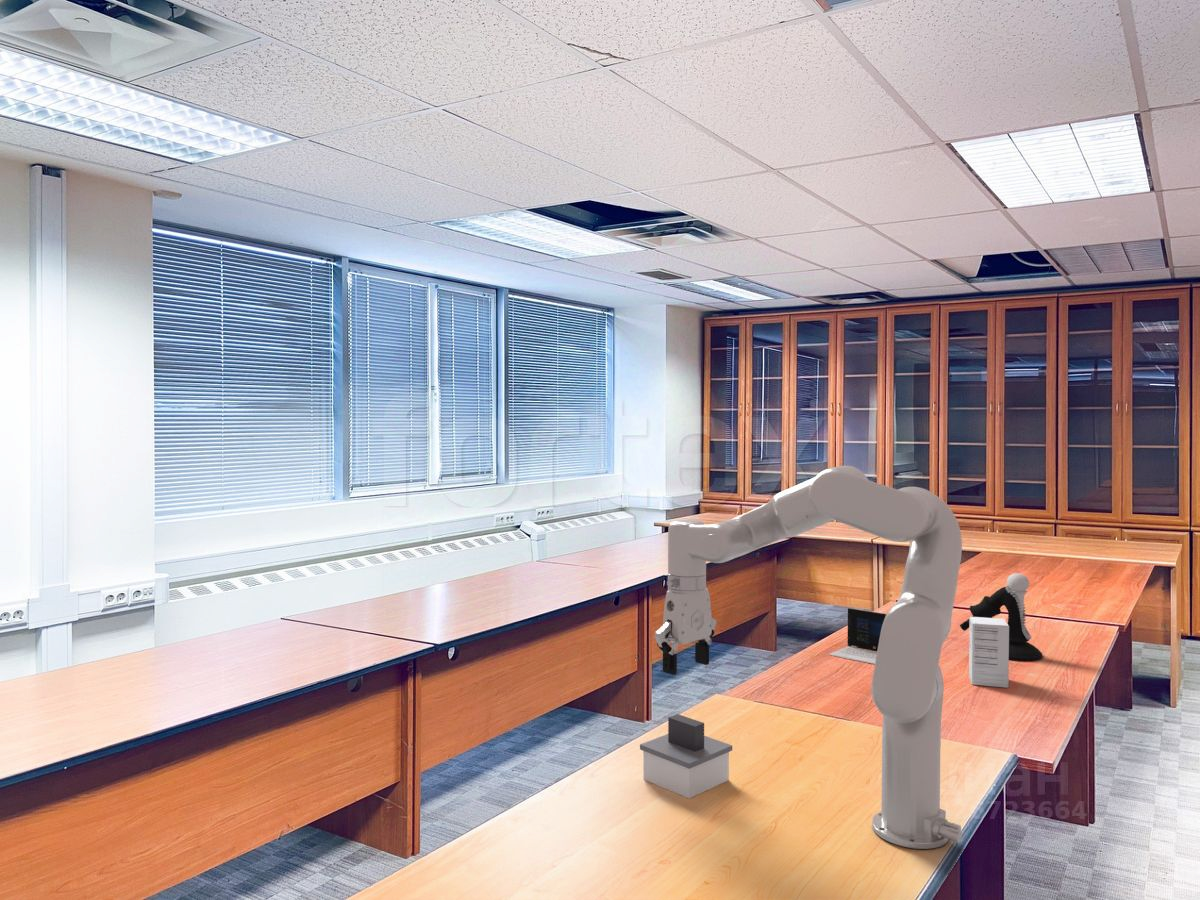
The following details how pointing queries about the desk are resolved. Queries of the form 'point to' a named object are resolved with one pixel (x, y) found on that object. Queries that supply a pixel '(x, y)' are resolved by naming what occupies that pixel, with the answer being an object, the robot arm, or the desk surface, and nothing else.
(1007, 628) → the supplement box
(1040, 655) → the sculpture
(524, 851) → the desk surface
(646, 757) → the storage box
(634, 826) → the desk surface
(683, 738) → the lid
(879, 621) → the laptop
